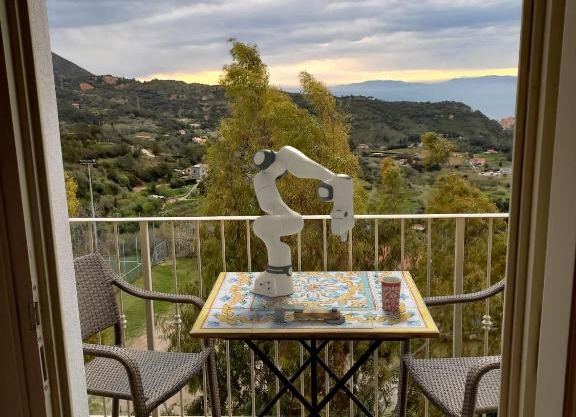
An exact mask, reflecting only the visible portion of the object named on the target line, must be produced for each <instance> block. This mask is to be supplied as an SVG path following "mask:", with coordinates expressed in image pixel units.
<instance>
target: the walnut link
mask: <svg viewBox="0 0 576 417" xmlns="http://www.w3.org/2000/svg"><path fill="white" fill-rule="evenodd" d="M340 315H341V310H340V309H338V308H337V307H332V308H331V309H318V308H317V309H311V308H310V309H309V308H307V309H306V308H304V310H303V312H293V319H295V320H324V319H333V320H337V319H340Z"/></svg>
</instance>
